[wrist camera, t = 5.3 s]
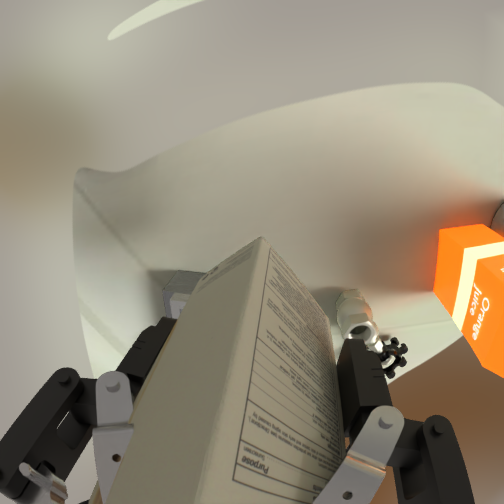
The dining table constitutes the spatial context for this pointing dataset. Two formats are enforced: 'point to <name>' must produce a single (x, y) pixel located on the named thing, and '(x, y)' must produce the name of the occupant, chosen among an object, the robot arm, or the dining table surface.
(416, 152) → the dining table surface
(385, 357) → the valve
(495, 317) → the orange juice
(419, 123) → the dining table surface
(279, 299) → the skincare box
